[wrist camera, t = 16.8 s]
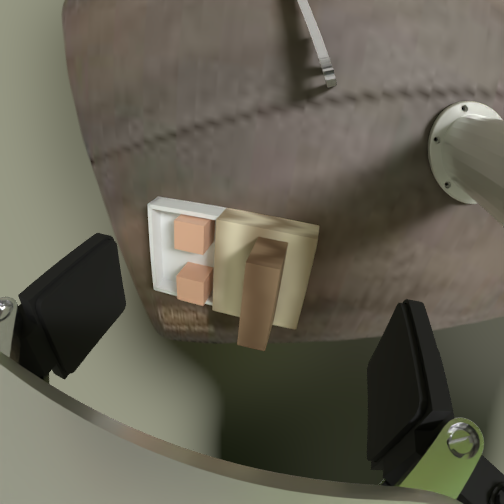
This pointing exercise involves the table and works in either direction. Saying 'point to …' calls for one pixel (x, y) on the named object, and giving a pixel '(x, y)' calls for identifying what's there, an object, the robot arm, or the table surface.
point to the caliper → (318, 43)
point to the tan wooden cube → (195, 283)
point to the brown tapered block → (261, 292)
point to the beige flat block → (239, 248)
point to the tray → (162, 241)
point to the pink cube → (193, 234)
